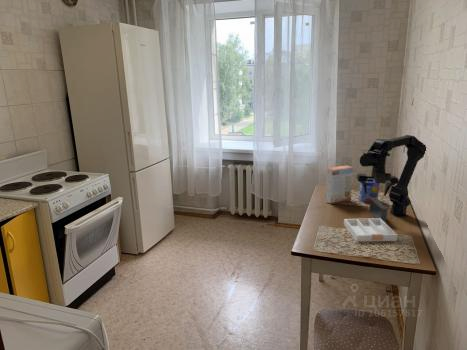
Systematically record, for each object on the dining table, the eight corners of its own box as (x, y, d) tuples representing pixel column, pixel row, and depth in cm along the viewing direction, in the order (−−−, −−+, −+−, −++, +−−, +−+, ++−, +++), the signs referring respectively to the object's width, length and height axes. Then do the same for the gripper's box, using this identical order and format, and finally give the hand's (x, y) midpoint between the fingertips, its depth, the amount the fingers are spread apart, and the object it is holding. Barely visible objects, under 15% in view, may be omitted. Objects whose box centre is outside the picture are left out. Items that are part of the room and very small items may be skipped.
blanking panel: (374, 212, 185) (376, 198, 183) (385, 223, 172) (387, 208, 170) (369, 212, 185) (370, 199, 183) (380, 223, 172) (381, 208, 170)
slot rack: (379, 223, 171) (380, 217, 170) (397, 241, 153) (398, 234, 152) (343, 224, 171) (344, 218, 170) (356, 241, 153) (357, 235, 152)
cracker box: (344, 197, 208) (347, 164, 203) (351, 201, 203) (353, 167, 197) (325, 200, 204) (326, 167, 199) (330, 204, 199) (332, 169, 193)
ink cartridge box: (361, 202, 201) (363, 178, 197) (358, 198, 206) (360, 175, 202) (378, 201, 201) (380, 178, 197) (374, 198, 206) (376, 175, 202)
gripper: (362, 167, 162) (358, 198, 166) (404, 170, 158) (399, 201, 163) (358, 162, 172) (354, 191, 176) (397, 164, 169) (393, 194, 173)
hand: (375, 194), depth 172 cm, fingers open, 9 cm apart
